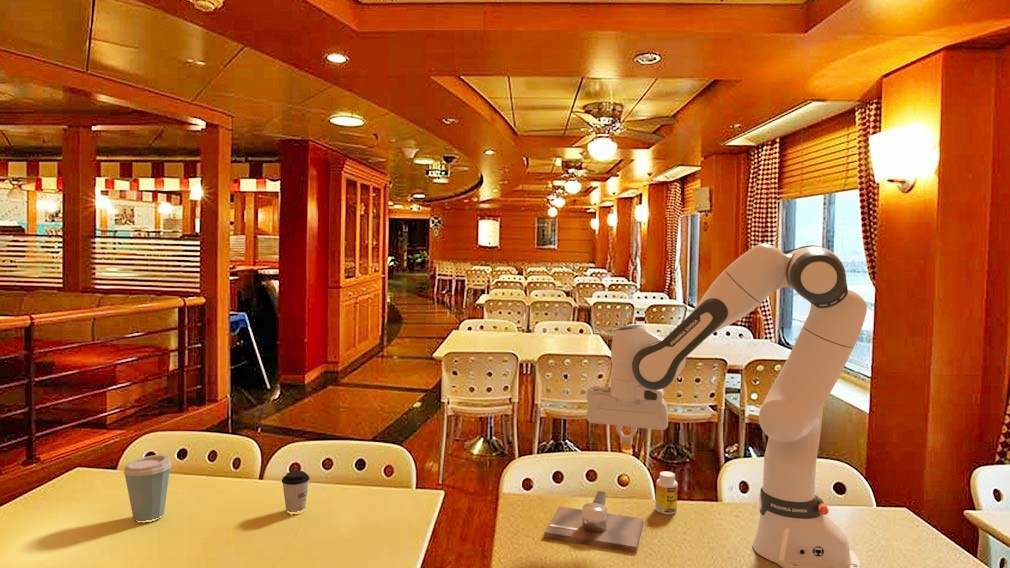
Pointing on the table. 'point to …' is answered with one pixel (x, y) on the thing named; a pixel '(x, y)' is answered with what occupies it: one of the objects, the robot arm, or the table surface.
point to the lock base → (616, 536)
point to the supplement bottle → (666, 493)
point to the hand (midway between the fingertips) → (626, 442)
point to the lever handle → (595, 514)
